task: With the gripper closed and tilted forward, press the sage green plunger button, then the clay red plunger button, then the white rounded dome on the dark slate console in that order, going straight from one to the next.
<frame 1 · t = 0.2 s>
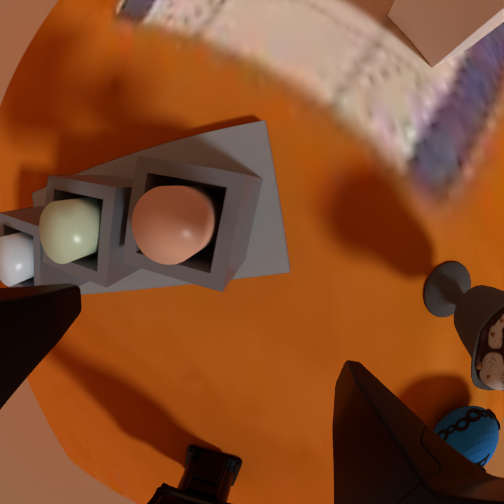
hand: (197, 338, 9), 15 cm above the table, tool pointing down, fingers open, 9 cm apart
sundae: (447, 289, 21), on the table
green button: (78, 227, 17), point 8 cm above the table, slide at 0.0 cm
clay button: (181, 220, 15), point 7 cm above the table, slide at 0.0 cm
white rounded dome: (21, 256, 18), point 7 cm above the table, slide at 0.0 cm
ornament: (450, 417, 24), on the table
milk: (429, 31, 17), on the table
console: (136, 222, 24), on the table
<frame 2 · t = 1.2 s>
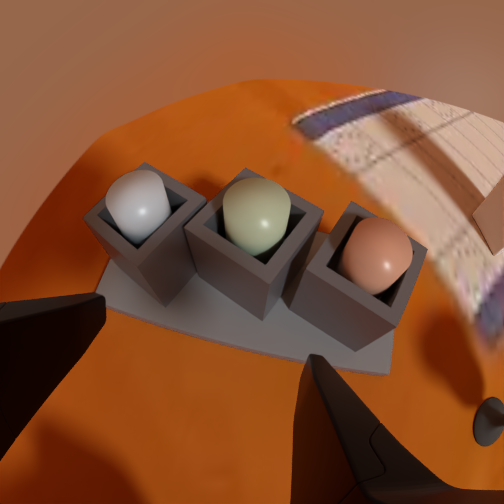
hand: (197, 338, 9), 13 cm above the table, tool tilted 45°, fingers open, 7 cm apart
sundae: (488, 422, 17), on the table
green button: (255, 223, 18), point 7 cm above the table, slide at 0.0 cm
clay button: (371, 262, 17), point 7 cm above the table, slide at 0.0 cm
white rounded dome: (142, 212, 18), point 7 cm above the table, slide at 0.0 cm
milk: (493, 232, 28), on the table
console: (251, 282, 24), on the table
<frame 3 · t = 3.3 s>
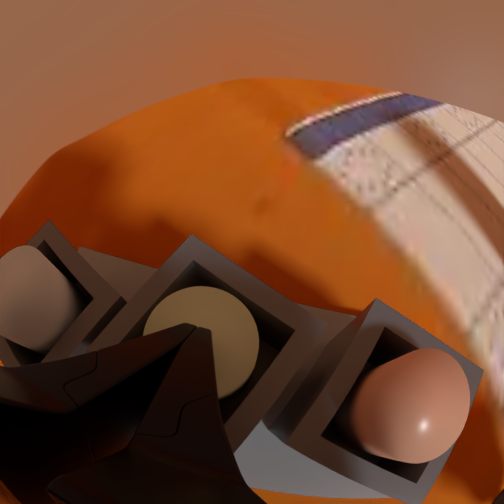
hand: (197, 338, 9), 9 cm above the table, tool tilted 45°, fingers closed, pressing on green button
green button: (206, 352, 11), point 6 cm above the table, slide at 1.1 cm, touching gripper
clay button: (398, 409, 9), point 8 cm above the table, slide at 0.0 cm
white rounded dome: (39, 307, 10), point 8 cm above the table, slide at 0.0 cm
console: (217, 382, 16), on the table
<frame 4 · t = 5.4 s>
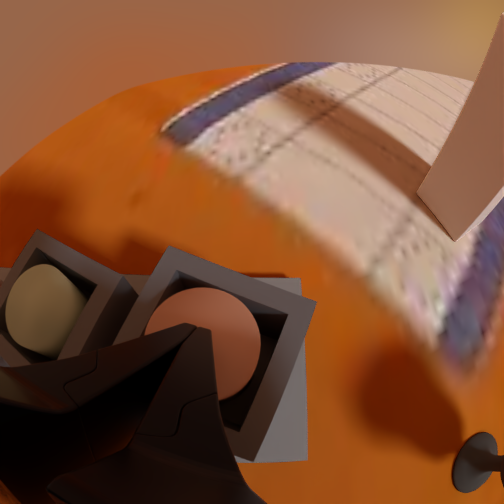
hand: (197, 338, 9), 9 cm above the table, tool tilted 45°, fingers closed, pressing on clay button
sundae: (474, 463, 12), on the table
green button: (57, 320, 11), point 6 cm above the table, slide at 1.2 cm
clay button: (207, 353, 11), point 7 cm above the table, slide at 0.8 cm, touching gripper
milk: (450, 208, 24), on the table
console: (108, 359, 16), on the table
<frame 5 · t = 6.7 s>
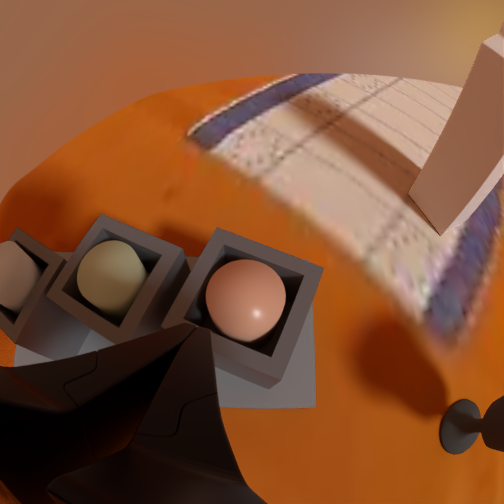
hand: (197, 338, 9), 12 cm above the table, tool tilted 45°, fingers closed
sundae: (459, 427, 17), on the table
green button: (119, 286, 16), point 6 cm above the table, slide at 1.2 cm
clay button: (245, 308, 16), point 6 cm above the table, slide at 1.2 cm
white rounded dome: (17, 282, 14), point 7 cm above the table, slide at 0.0 cm
milk: (438, 208, 28), on the table
console: (148, 327, 21), on the table
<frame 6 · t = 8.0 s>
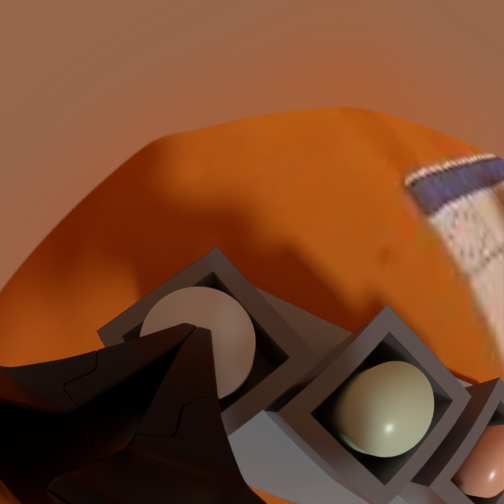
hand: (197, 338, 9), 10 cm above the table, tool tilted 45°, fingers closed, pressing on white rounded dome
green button: (372, 411, 10), point 6 cm above the table, slide at 1.2 cm
clay button: (475, 460, 8), point 6 cm above the table, slide at 1.2 cm
white rounded dome: (203, 352, 11), point 7 cm above the table, slide at 0.2 cm, touching gripper
console: (327, 420, 16), on the table
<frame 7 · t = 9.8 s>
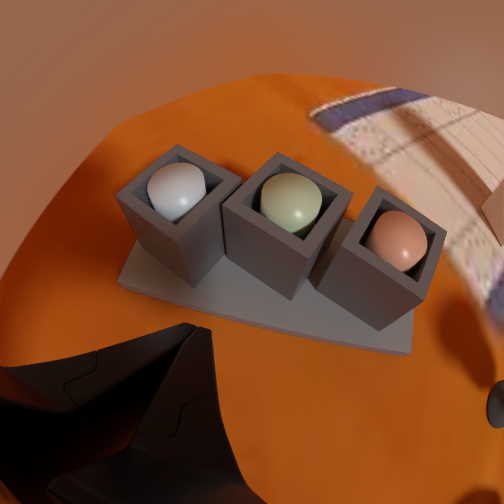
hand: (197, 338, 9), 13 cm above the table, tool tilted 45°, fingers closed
sundae: (500, 405, 18), on the table
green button: (288, 214, 20), point 6 cm above the table, slide at 1.2 cm
clay button: (390, 251, 18), point 6 cm above the table, slide at 1.2 cm
white rounded dome: (180, 202, 20), point 6 cm above the table, slide at 1.2 cm
milk: (501, 224, 28), on the table
console: (277, 265, 25), on the table
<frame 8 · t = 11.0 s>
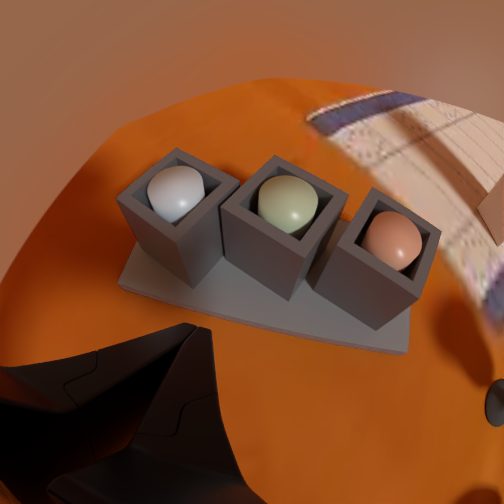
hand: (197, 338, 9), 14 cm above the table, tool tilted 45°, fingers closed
sundae: (498, 403, 18), on the table
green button: (285, 215, 20), point 6 cm above the table, slide at 1.2 cm
clay button: (385, 251, 19), point 6 cm above the table, slide at 1.2 cm
white rounded dome: (179, 204, 20), point 6 cm above the table, slide at 1.2 cm
milk: (497, 225, 29), on the table
console: (275, 266, 25), on the table
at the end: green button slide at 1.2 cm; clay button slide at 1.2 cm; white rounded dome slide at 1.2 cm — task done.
